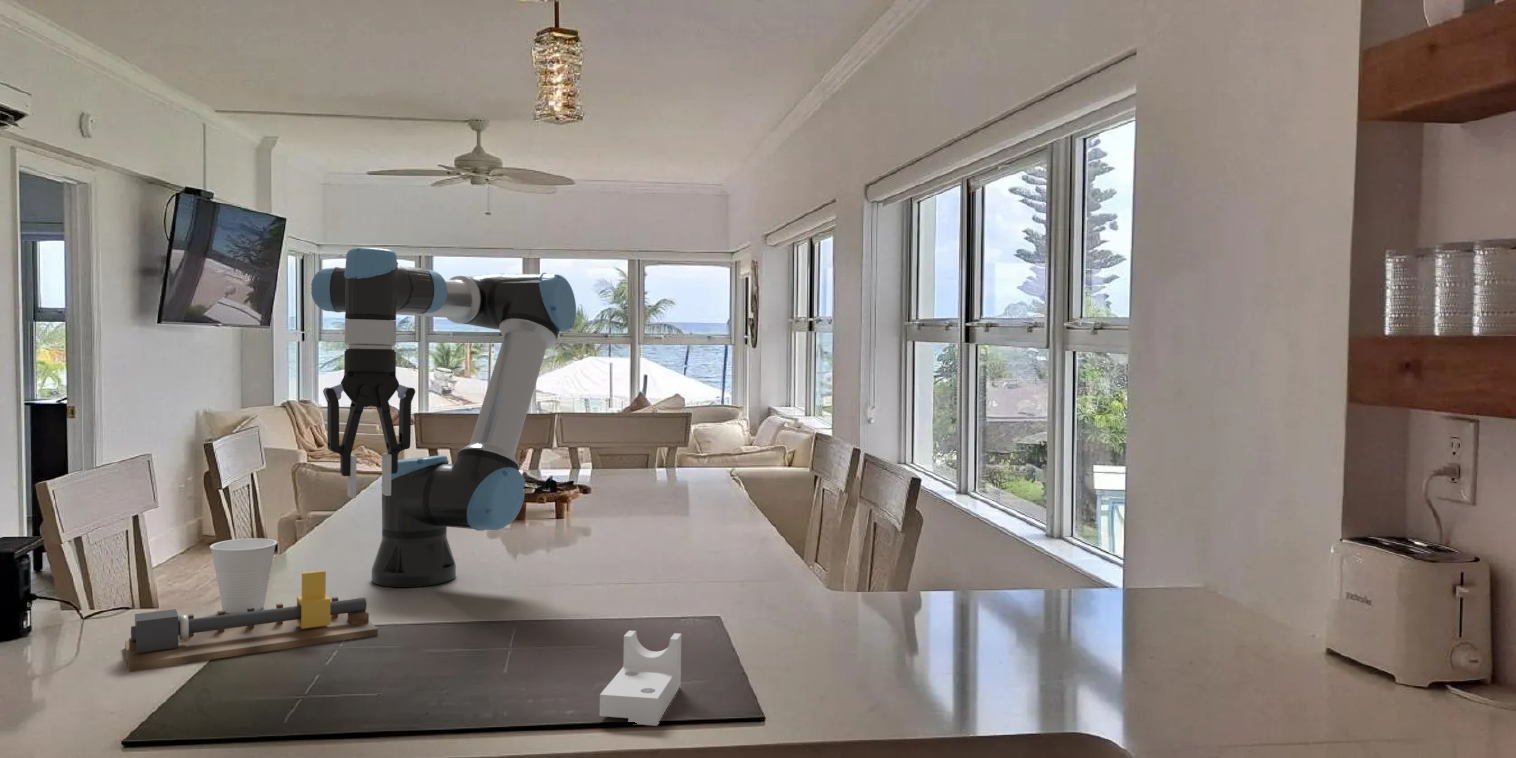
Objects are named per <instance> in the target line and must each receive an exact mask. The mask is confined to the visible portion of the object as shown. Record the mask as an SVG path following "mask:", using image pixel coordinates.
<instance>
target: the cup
mask: <svg viewBox="0 0 1516 758" xmlns="http://www.w3.org/2000/svg"><path fill="white" fill-rule="evenodd" d="M277 545H278V542H277V541H276V540H275V539H271V538H263V537H261V538H260V537H259V538H257V537H251V538H249V537H248V538H237V539H228V540H223V541H218V542H214V543H212V544H211V545H210V546H209V549H210V550H211V554H212V560H213V566H214V570H215V576H216V581H217V587H218V592H219V597H220V598H219V599H220V604H221V609H222V610H224V613H225V614H228V615H229V614H237V613H245V612H247V607H254V611H261V610H263V608H264V607H265V603H266V598H267V591H268V586H269V581H270V577H271V576H270V575H271V571H272V570H271V569H272V564H273V561H274V555H275V550H276V546H277ZM222 610H221V611H222Z"/></svg>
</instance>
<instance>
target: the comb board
mask: <svg viewBox="0 0 1516 758" xmlns="http://www.w3.org/2000/svg"><path fill="white" fill-rule="evenodd" d="M334 601H339V597H338V596H332V597H331V602H334ZM275 605H276V608H275V609H277V608H284V604H283V603H282V602H280V603H276V604H275ZM253 611H254V607H247V612H253ZM369 614H370V613H369V611H368V610H367V609H366V610H365V611H359V612H351V613H343V614H336V615H330V625H326V626H318V627H311V628H304V629H302V628H301V627H300V626H299V625H298V623H297V620H290V621H282V622H274V623H267V624H259V625H251V626H244V627H236V628H228V629H221V630H213V631H205V632H198V633H190V634H189V637H188V639H183V640H180V639H179V635H178V647H177V648H170V649H163V650H155V651H148V652H141V653H136V641H131V637H130V638H128V640H125V642H124V649H125V654H126V662H127V667H128V672H134V671H142V670H147V669H148V670H149V669H155V668H162V667H168V666H169V667H170V666H176V665H181V664H183V665H184V664H189V663H190V664H191V663H197V662H202V661H203V662H204V661H211V660H217V659H222V658H230V657H238V656H244V655H250V654H257V653H265V652H273V651H279V650H286V649H291V648H299V647H307V646H313V645H319V644H320V645H321V644H327V643H333V642H340V641H347V639H348V640H352V639H351V638H355V639H362V638H367V637H368V636H369V637H374V636H373V635H376V636H379V633H378V631H379V630H378V627H377V626H376V625H374V623H372V622H371V620H370V619H369V618H370V617H369ZM187 615H188V619H195V618H194V617H195V615H194V614H193V613H189V614H187ZM220 615H225V611H224V610H217V616H220ZM369 637H368V638H369Z"/></svg>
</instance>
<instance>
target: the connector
mask: <svg viewBox="0 0 1516 758" xmlns="http://www.w3.org/2000/svg"><path fill="white" fill-rule="evenodd" d="M188 615H189V614H183V615H182V614H181V615H179V614H178V611H177V609H175V608H173V609H166V610H158V611H150V612H149V611H148V612H141V613H135V614H134V626H136V653H141V652H148V651H155V650H163V649H170V648H177V647H178V631H179V621H180V635H179V639H180V640H183V639H188V637H189V620H188Z"/></svg>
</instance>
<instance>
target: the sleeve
mask: <svg viewBox="0 0 1516 758" xmlns="http://www.w3.org/2000/svg"><path fill="white" fill-rule="evenodd" d="M326 572H327V571H326V570H324V569H322V570H321V569H320V570H313V571H312V570H311V571H304V572H303V571H302V572H301V595H299V596H297V595H296V606H301V619H297V623H298V625H299V626H300V627H301V628H302V629H304V628H311V627H318V626H326V625H330V602H331V598H330V597H329V596H328V595H327V594H326V590H327V589H326V588H327V587H326V583H327V582H326V579H327V578H326V577H327V576H326V575H327V573H326Z"/></svg>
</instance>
